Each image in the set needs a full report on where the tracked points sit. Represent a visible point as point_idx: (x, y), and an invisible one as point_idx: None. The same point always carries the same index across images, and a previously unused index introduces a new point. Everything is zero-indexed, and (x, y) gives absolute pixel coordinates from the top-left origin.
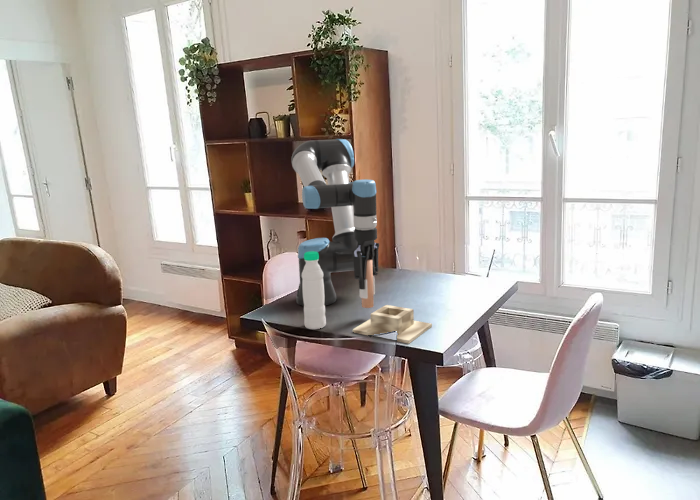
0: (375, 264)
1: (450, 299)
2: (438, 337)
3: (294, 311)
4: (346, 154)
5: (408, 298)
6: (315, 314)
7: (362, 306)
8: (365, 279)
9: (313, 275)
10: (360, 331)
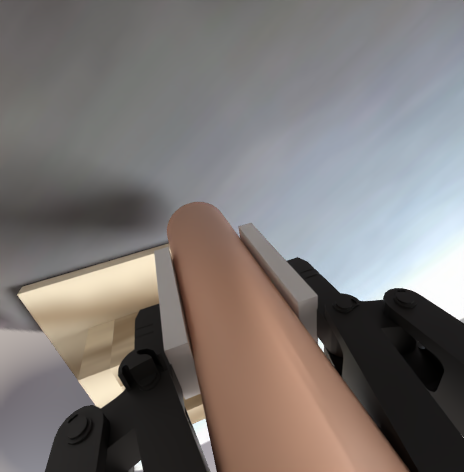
0: (438, 402)
1: (441, 260)
2: (202, 420)
3: None
4: None
5: (427, 163)
6: None
7: (167, 226)
8: (193, 387)
9: None
10: (38, 322)
